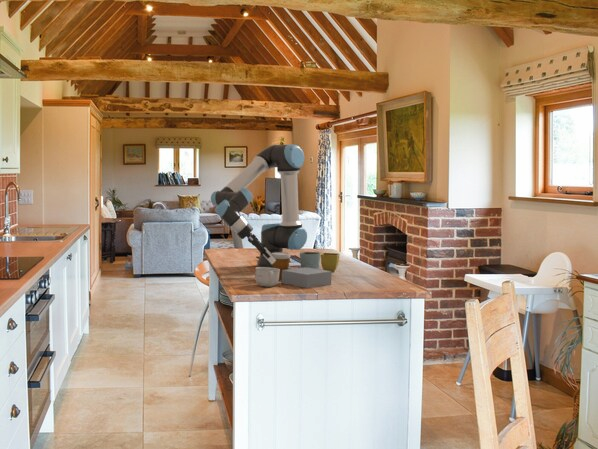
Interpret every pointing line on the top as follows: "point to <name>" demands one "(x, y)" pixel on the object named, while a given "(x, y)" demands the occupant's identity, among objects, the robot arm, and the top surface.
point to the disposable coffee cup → (281, 262)
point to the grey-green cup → (310, 259)
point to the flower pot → (329, 261)
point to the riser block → (306, 277)
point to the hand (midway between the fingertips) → (273, 260)
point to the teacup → (267, 276)
